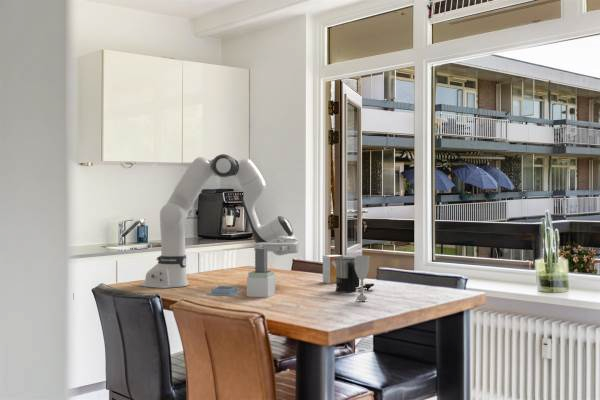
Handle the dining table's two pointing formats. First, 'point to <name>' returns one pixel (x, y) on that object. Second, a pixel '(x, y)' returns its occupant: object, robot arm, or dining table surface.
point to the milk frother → (347, 275)
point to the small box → (329, 268)
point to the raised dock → (260, 284)
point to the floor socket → (224, 291)
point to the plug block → (261, 260)
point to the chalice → (362, 272)
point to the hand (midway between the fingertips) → (271, 248)
